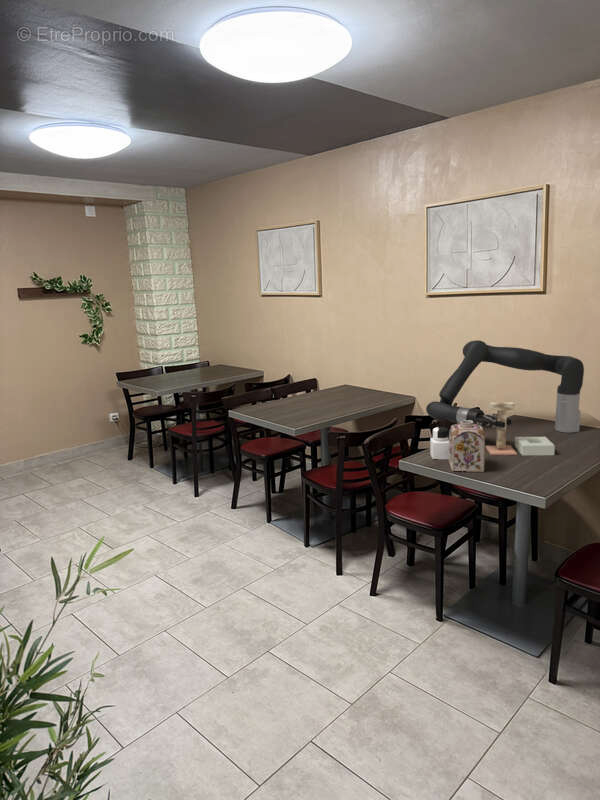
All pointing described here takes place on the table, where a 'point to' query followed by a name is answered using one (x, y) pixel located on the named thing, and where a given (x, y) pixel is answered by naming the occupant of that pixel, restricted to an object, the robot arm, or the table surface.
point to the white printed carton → (439, 443)
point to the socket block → (534, 446)
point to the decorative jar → (466, 447)
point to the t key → (502, 417)
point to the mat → (501, 450)
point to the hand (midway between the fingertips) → (508, 423)
